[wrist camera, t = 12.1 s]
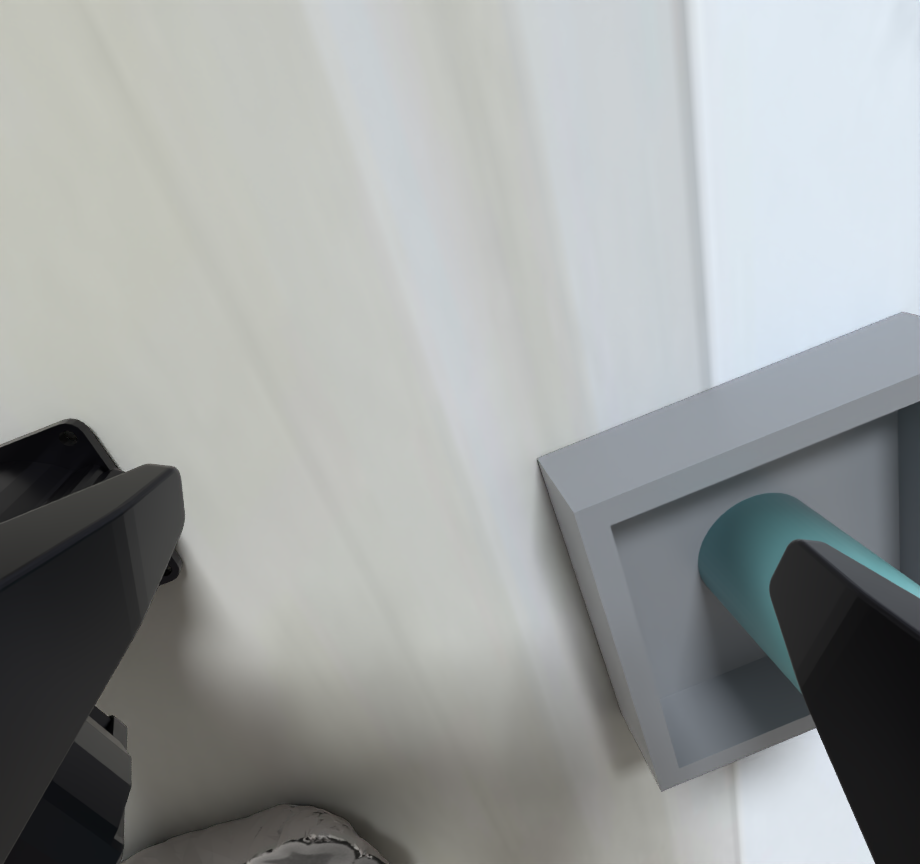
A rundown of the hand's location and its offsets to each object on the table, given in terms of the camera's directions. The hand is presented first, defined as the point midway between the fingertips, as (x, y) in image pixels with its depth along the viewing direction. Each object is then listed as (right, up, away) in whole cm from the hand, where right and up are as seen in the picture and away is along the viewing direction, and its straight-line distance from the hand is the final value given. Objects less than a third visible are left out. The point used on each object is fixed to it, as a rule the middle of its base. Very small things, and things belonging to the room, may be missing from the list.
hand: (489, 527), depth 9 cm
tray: (+12, -3, +17) cm, 21 cm away
